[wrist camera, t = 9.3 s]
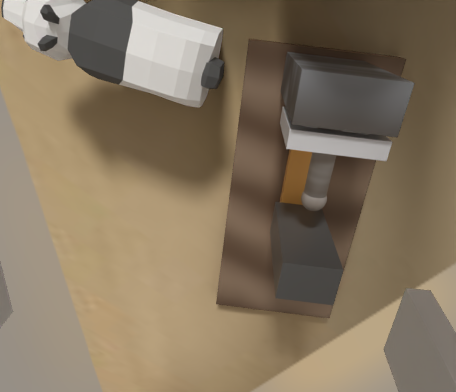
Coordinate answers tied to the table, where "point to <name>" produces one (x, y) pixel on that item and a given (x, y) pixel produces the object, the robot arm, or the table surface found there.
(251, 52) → the board
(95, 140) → the table surface
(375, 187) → the table surface
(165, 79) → the giant panda
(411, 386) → the robot arm
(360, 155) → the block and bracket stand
